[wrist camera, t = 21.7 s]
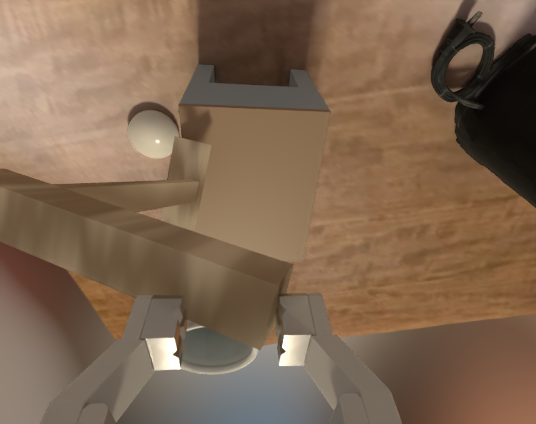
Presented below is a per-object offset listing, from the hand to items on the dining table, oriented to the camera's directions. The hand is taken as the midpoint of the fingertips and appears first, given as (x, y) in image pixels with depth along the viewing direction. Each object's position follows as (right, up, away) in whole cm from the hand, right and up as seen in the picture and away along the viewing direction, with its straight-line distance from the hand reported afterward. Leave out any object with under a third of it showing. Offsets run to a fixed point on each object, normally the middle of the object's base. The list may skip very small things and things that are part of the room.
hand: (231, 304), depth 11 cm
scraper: (-11, +5, +12) cm, 17 cm away
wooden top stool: (-1, +14, +36) cm, 39 cm away
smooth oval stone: (-15, +15, +35) cm, 41 cm away
